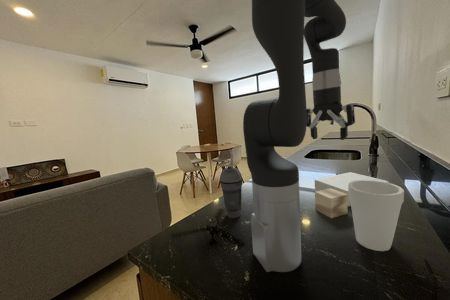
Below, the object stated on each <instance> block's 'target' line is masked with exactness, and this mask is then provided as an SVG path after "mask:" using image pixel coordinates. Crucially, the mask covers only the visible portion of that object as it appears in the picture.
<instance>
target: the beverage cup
mask: <svg viewBox="0 0 450 300" xmlns="http://www.w3.org/2000/svg"><path fill="white" fill-rule="evenodd" d="M233 157H234V156H233V153H230V166H228V167H226V168H224V169H223V170H222V171H221V173H220V175H219V176H220V177H219V184H220V187H221V190H222V196H223V201H224V208H225V212H226V216H227V217H228V218H231V219H236V218H239V217H241V215H242V189H243V188H242V186H243V181H244V180H243V176H242V173H241V171H240V170H239V169H238V168H236V167H235V166H233V159H234V158H233Z"/></svg>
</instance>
